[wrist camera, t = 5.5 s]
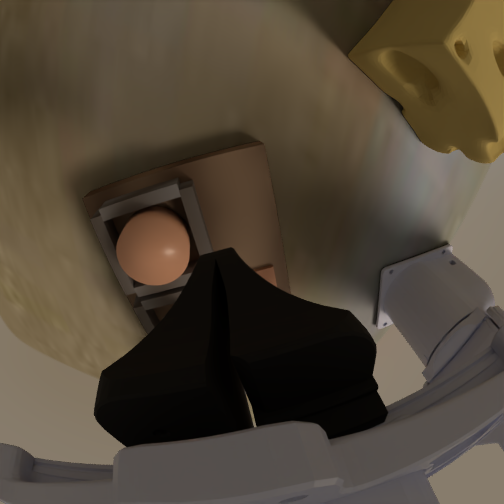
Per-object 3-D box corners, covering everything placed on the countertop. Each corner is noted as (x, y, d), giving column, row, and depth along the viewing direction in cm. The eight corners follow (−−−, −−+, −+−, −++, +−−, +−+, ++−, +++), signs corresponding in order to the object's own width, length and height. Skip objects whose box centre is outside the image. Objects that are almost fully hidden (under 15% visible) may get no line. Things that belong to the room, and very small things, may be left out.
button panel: (259, 140, 18) (270, 147, 16) (297, 359, 29) (306, 381, 27) (89, 191, 18) (74, 206, 15) (188, 386, 29) (190, 409, 26)
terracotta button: (178, 197, 17) (176, 209, 15) (198, 258, 19) (198, 275, 18) (113, 218, 17) (104, 231, 15) (138, 275, 19) (133, 292, 17)
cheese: (422, 147, 20) (516, 186, 12) (335, 52, 16) (436, 33, 7) (469, 73, 17) (555, 88, 9) (398, -18, 13) (488, -42, 4)
